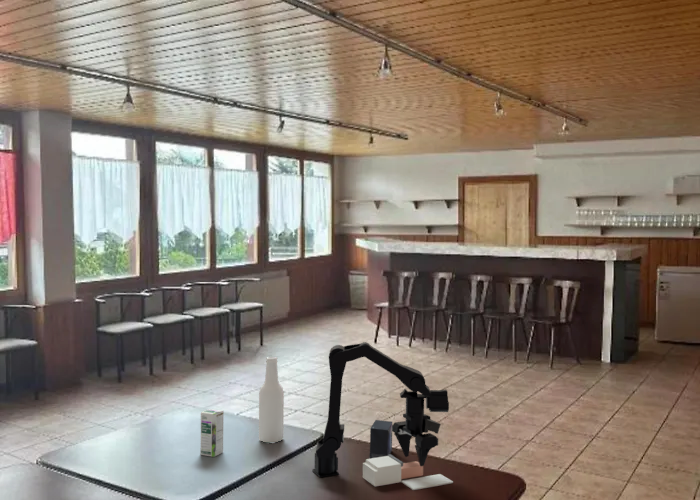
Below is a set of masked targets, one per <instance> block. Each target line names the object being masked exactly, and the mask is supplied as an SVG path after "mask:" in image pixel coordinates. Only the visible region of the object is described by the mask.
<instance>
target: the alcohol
mask: <svg viewBox="0 0 700 500" xmlns="http://www.w3.org/2000/svg"><path fill="white" fill-rule="evenodd" d="M265 367H266V368H265V379H264V383H263V384H262V385H261V387H260V389H259V392H258V439H259V442H261V441H263V442H278V441H281V440H282V441H283V439H284V420H285V419H284V416H285V415H284V412H285V411H284V408H285V407H284V404H285V403H284V401H285V396H284V393H285V391H284V388H283V386H282V385H281V384H280V382H279V381H280V380H279V376H278V375H279V374H278V357H276V356H267V357H266V365H265ZM282 441H281V442H282ZM263 442H262V443H263ZM278 443H279V442H278Z"/></svg>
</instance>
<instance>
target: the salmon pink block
mask: <svg viewBox="0 0 700 500" xmlns="http://www.w3.org/2000/svg"><path fill="white" fill-rule="evenodd" d="M419 477H424V466H420V464H419V461H418V460H417V461H409V462H403V466H402V467H401V480H407V479H413V478H419Z"/></svg>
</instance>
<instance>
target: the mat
mask: <svg viewBox="0 0 700 500" xmlns="http://www.w3.org/2000/svg"><path fill="white" fill-rule="evenodd" d="M400 483H402V484H404V486H406V487H408V488H410V490H412V491H417V490H421V489H427V488H433V487H438V486H443V485H444V486H445V485H449V484H453V483H454V481H453V480H451V479H450V478H448V477H446V476H444V475H443V474H441V473H438V474H433V475H432V474H430V475H426V476H418V477H413V478H407V479H401V482H400Z"/></svg>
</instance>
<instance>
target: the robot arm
mask: <svg viewBox="0 0 700 500" xmlns="http://www.w3.org/2000/svg"><path fill="white" fill-rule="evenodd" d="M361 358H365V359H368V360H369V361H371V362H372V363H374V364H375V365H377V366H378V367H381V368H382V369H383V370H385V371H386V372H388V373H390V374H392V375H393V376H394V377H396V378H397V379H398V380H399V381H400V382H401V383H402V384H403V385H404V386H405V387H406V388H408V389H409V390H410V391H408V390H407V389H406V388H404V389H403V390H402V391H401V392H400V393H399V396H400V398H401V399H405V413H402V418H404V419H405V420H404V421H403V420H402V421H395V422H393V423H392V433H393V434H394V436H395V438H396V439H397V441H398V444H399V446H400V448H401V451H402V453H403V455H404V457H405V458H407V457H409V456H410V448H411V447H410V445H411V439H412V437H414V438H415V439H414V443H415V445H414V447H415V448H414V449H415V453H416V455H417V461H418V462H419V464H420V466H423V467H424V466H425V464H426V460H427V457H428V454H429V453H430V451H431V450H432V449H433V448H435V447H437V446H439V438H438V436H436V435H434V434H432V433H435V434H439V431H440V428H441V423H440V422H437V421H435V420H433V419H431V416H430V415H428V414H427V413H426V414H425V408H426V409H428V411H429V412H430V413H449V408H450V402H449V394H448V390H447V389H430V388H429V387H430V386H428V385H427V384H426V379H425V376H424V374H423V373H422V372H421V371H420V370H419V369H415V368H413V367H410V366H407V365H404V364H402V363H400V362H398V361H396V360H394V359H393V358H391V357H390V356H388V355H386V354H385V353H384V352H382V351H380V350H379V349H377V348H375V347H373V346H372V344H370V343H368V342H367V341H366V342H365V341H363V342H360V343H355V344H348V345H341V344H336V345H333V346H332V347H331V348H330V350H329V354H328V363H329V372H330V385H329V399H328V401H329V402H328V414H327V415H328V417H327V421H326V425H325V428H324V432H323V437H322V438H321V439H319V441H317V443H316V448H315V452H314V468H312V472H313V473H314V474H315V475H316V476H317V477H319V478H325V477H330V476H331V477H332V476H338V475H340V474H339V471H338V470H339V457H338V456H337V455H338V453H337V452H336V451H338V450H340V448H341V446H342V444H344V441H345V440H344V439H345V435H344V432H345V424H344V423H342V424H341V419H340V414H341V403H342V402H341V400H342V387H343V376H344V373H345V370H346V365H347V363H349V362H352V361H354V360H358V359H361ZM429 432H431V433H429Z"/></svg>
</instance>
